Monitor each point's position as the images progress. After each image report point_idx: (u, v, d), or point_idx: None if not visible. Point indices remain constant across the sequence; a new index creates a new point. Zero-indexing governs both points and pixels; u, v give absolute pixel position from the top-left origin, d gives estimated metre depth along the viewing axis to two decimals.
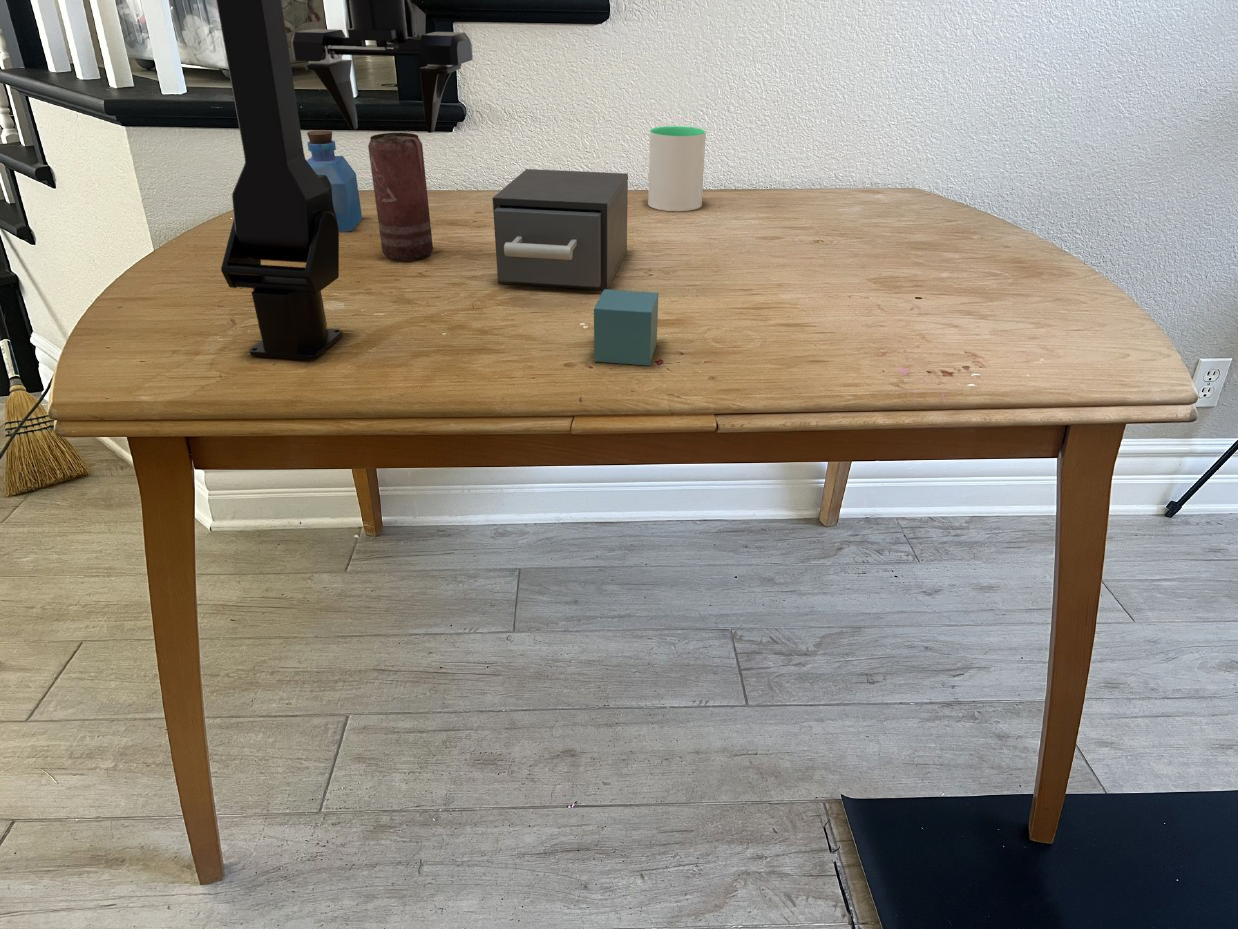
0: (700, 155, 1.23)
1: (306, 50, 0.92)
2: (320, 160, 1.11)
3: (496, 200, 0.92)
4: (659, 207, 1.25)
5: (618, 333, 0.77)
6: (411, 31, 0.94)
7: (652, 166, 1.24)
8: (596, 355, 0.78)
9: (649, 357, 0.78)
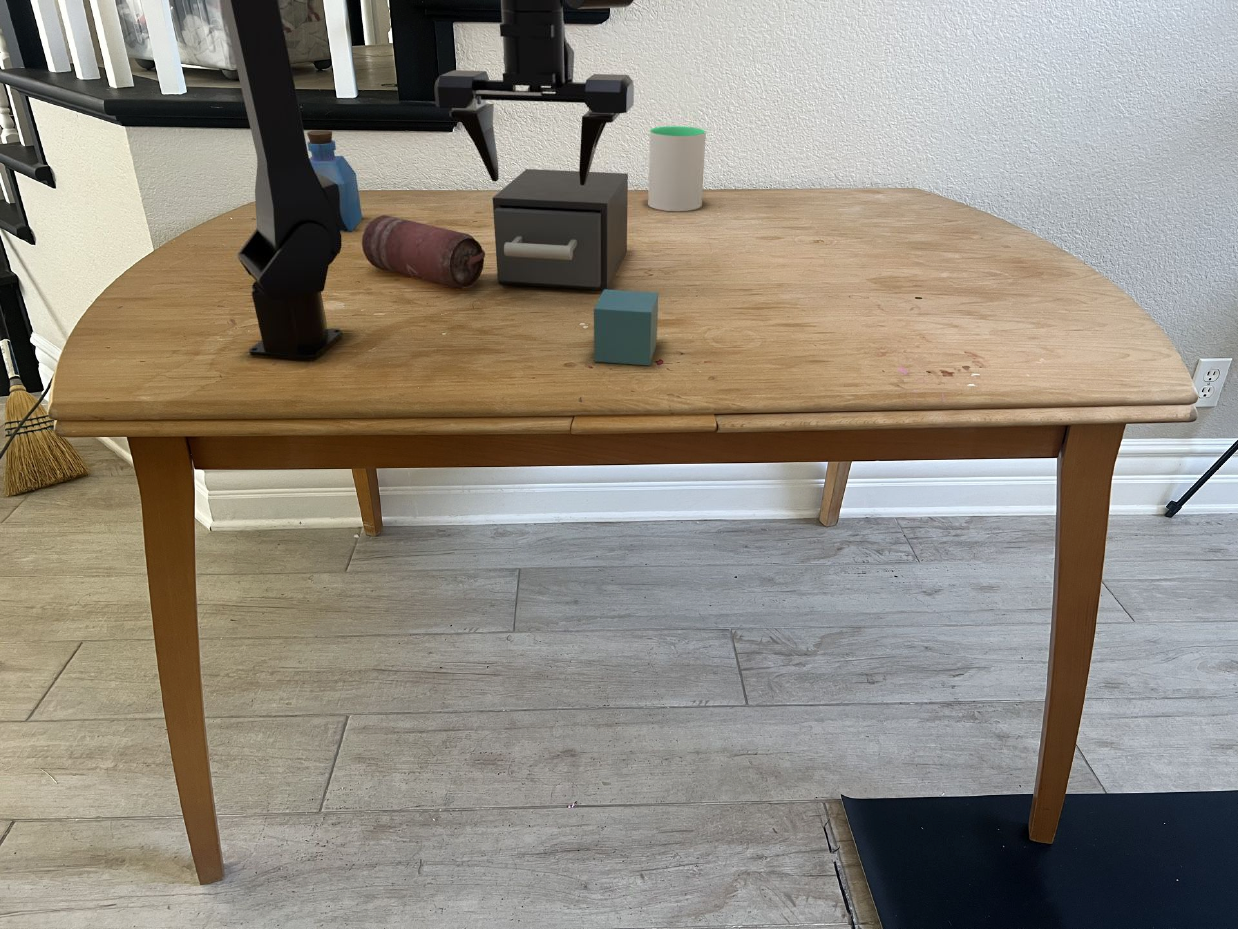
0: (700, 155, 1.23)
1: (453, 96, 0.82)
2: (320, 160, 1.11)
3: (496, 200, 0.92)
4: (659, 207, 1.25)
5: (618, 333, 0.77)
6: (567, 73, 0.84)
7: (652, 166, 1.24)
8: (596, 355, 0.78)
9: (649, 357, 0.78)
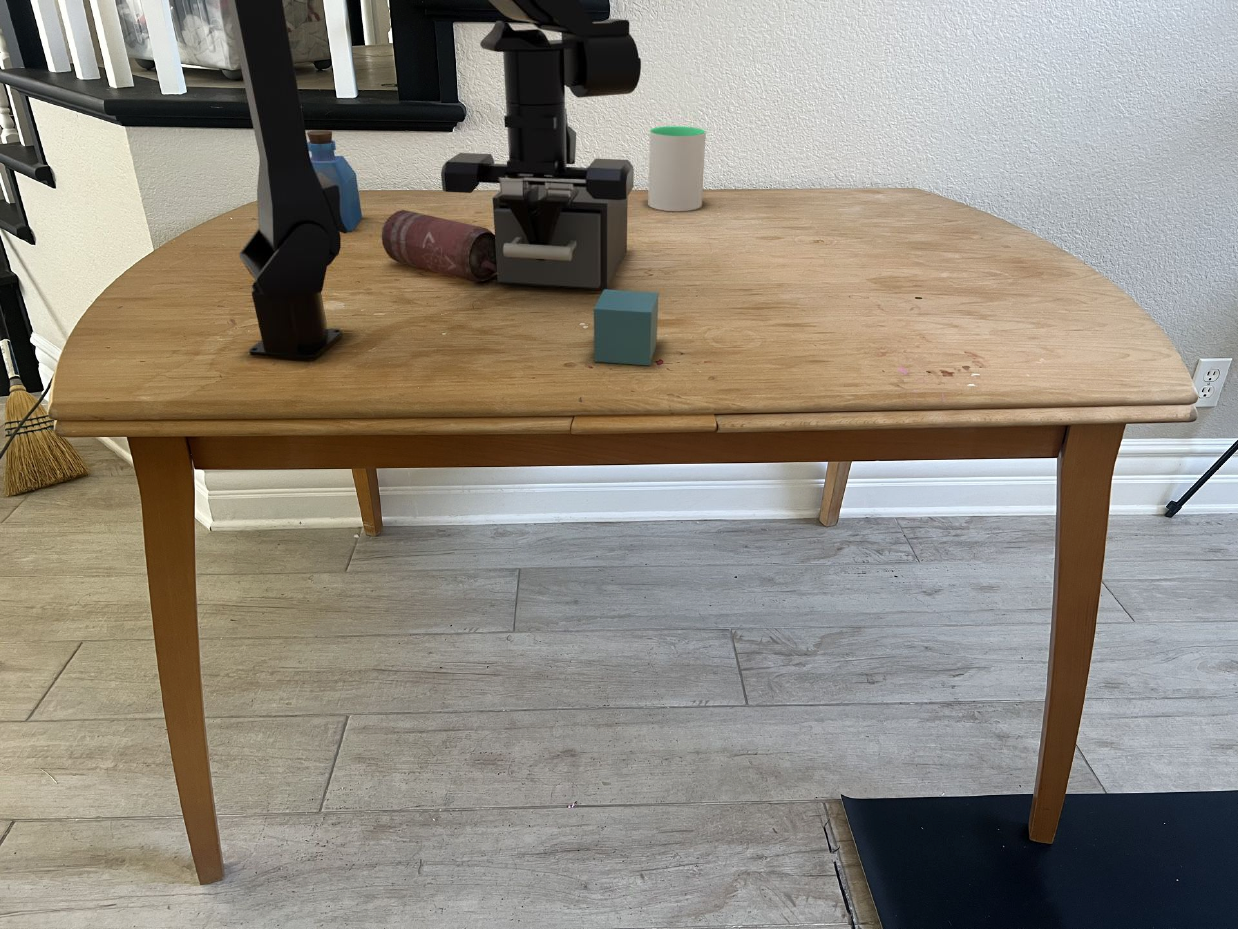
0: (700, 155, 1.23)
1: (458, 181, 0.85)
2: (320, 160, 1.11)
3: (496, 200, 0.92)
4: (659, 207, 1.25)
5: (618, 333, 0.77)
6: (569, 158, 0.87)
7: (652, 166, 1.24)
8: (596, 355, 0.78)
9: (649, 357, 0.78)
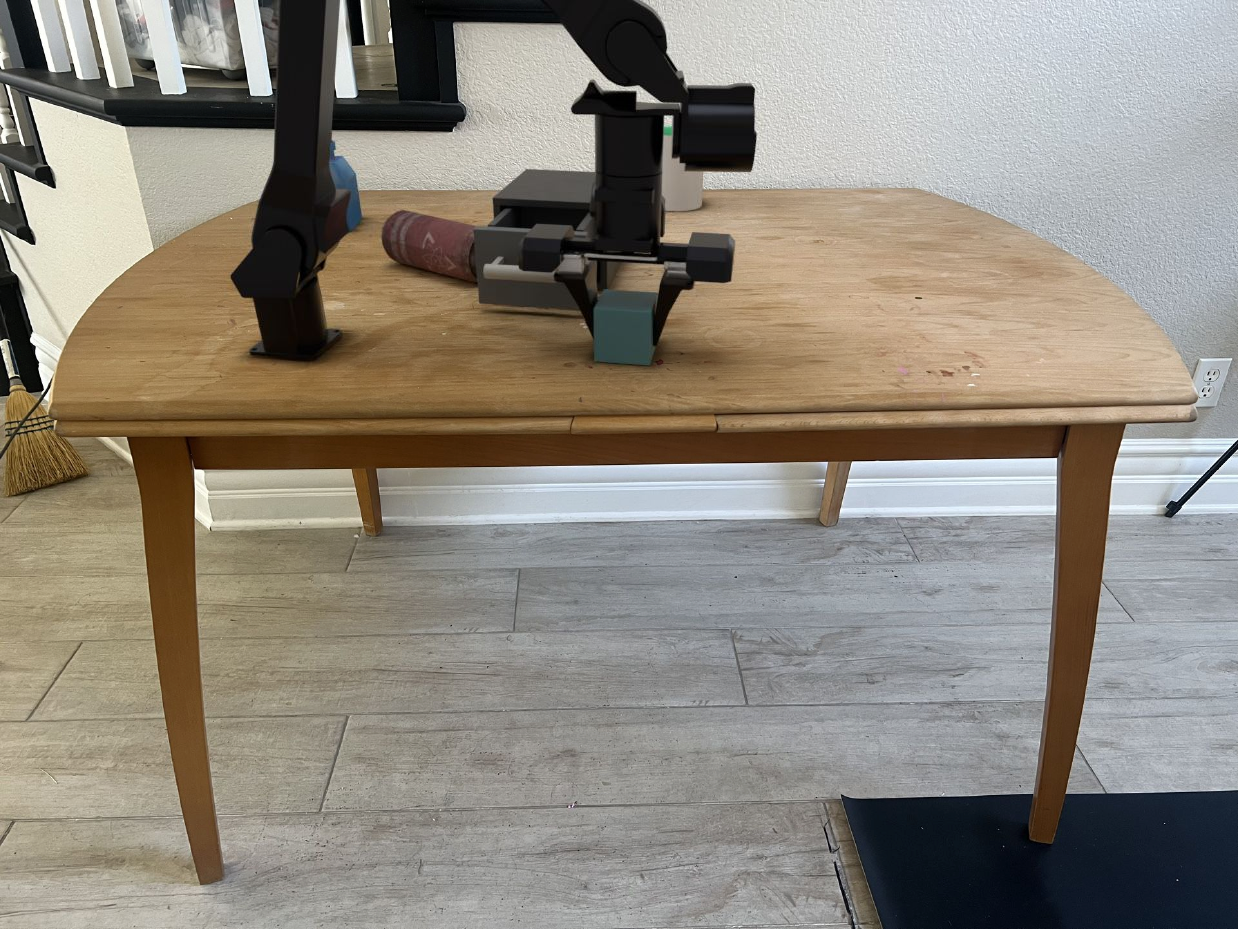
0: None
1: (538, 260, 0.74)
2: None
3: (496, 200, 0.92)
4: None
5: (618, 333, 0.77)
6: (662, 231, 0.76)
7: None
8: (596, 355, 0.78)
9: (649, 357, 0.78)
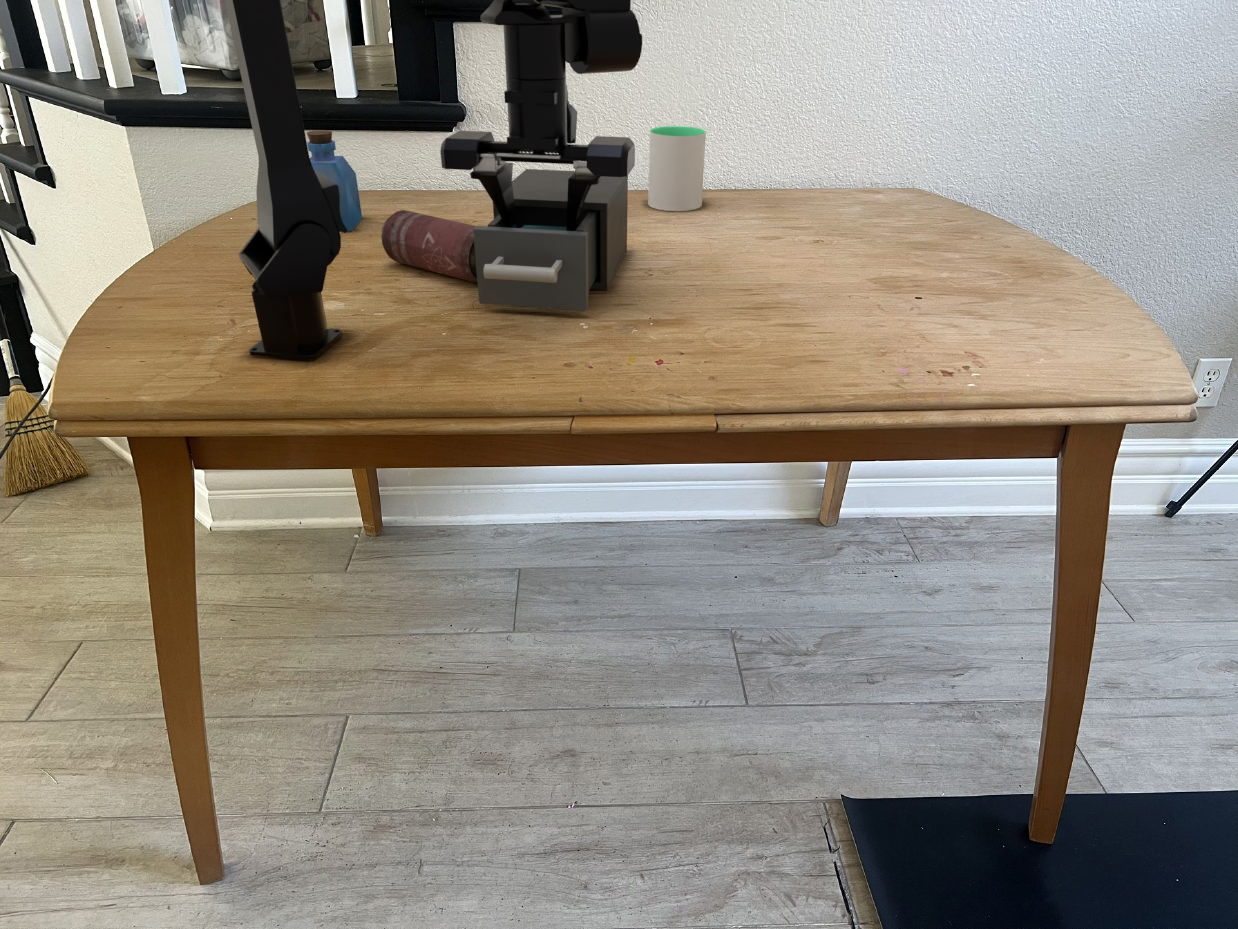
0: (700, 155, 1.23)
1: (458, 158, 0.84)
2: (320, 160, 1.11)
3: None
4: (659, 207, 1.25)
5: None
6: (569, 135, 0.86)
7: (652, 166, 1.24)
8: None
9: None
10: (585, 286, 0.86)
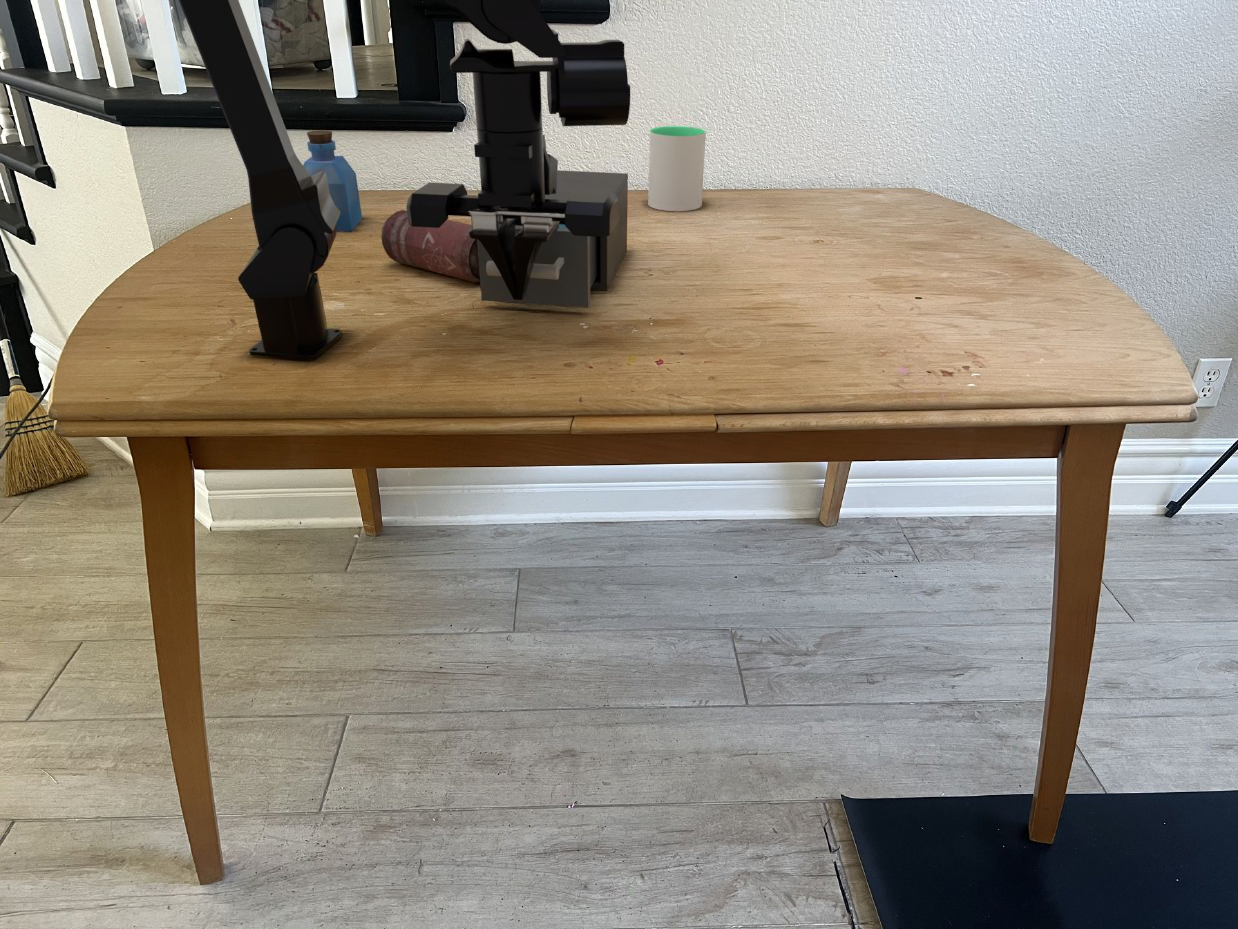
0: (700, 155, 1.23)
1: (425, 215, 0.77)
2: (320, 160, 1.11)
3: None
4: (659, 207, 1.25)
5: None
6: (548, 188, 0.79)
7: (652, 166, 1.24)
8: None
9: None
10: (587, 283, 0.87)
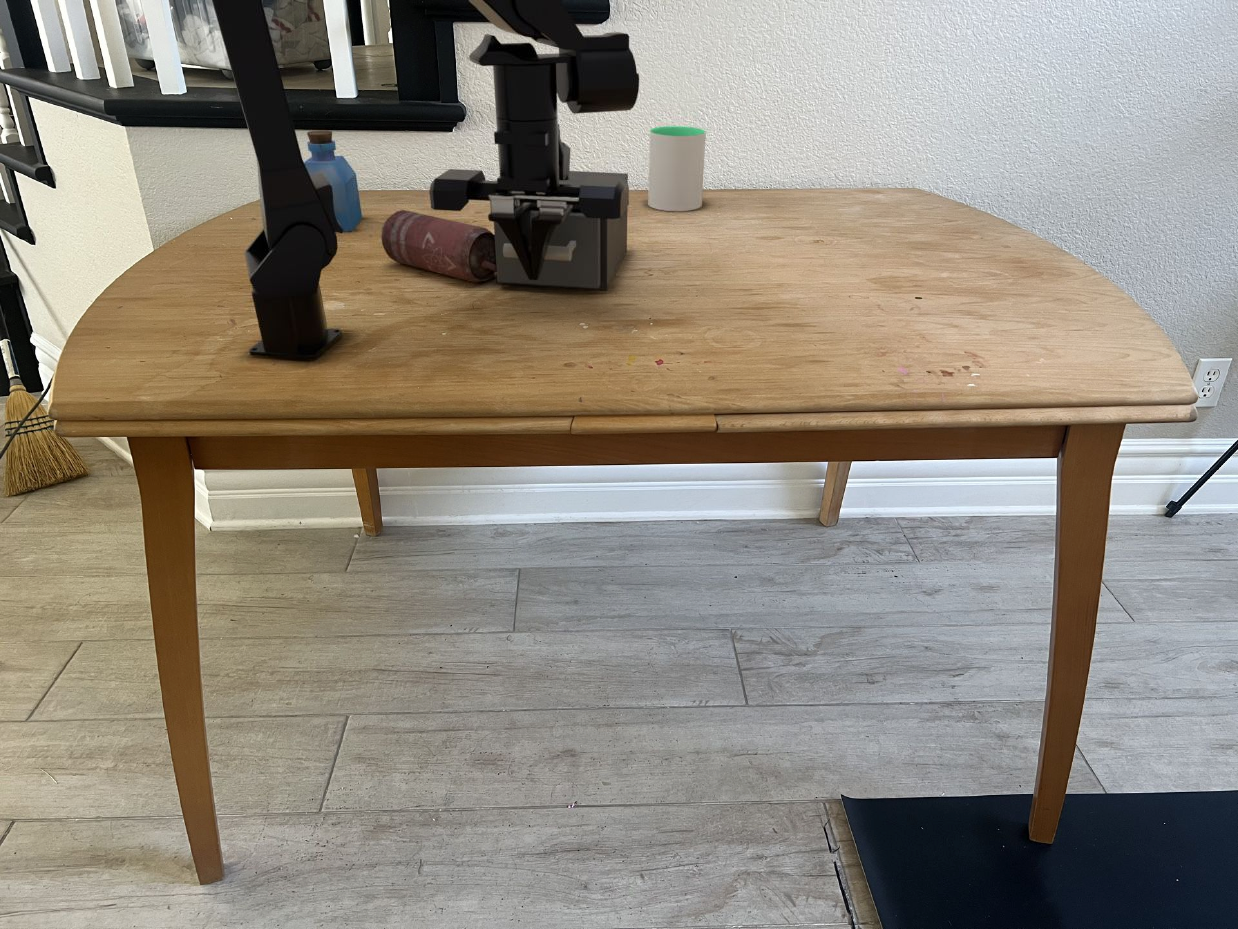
0: (700, 155, 1.23)
1: (447, 199, 0.82)
2: (320, 160, 1.11)
3: None
4: (659, 207, 1.25)
5: None
6: (562, 174, 0.84)
7: (652, 166, 1.24)
8: None
9: None
10: (597, 265, 0.92)
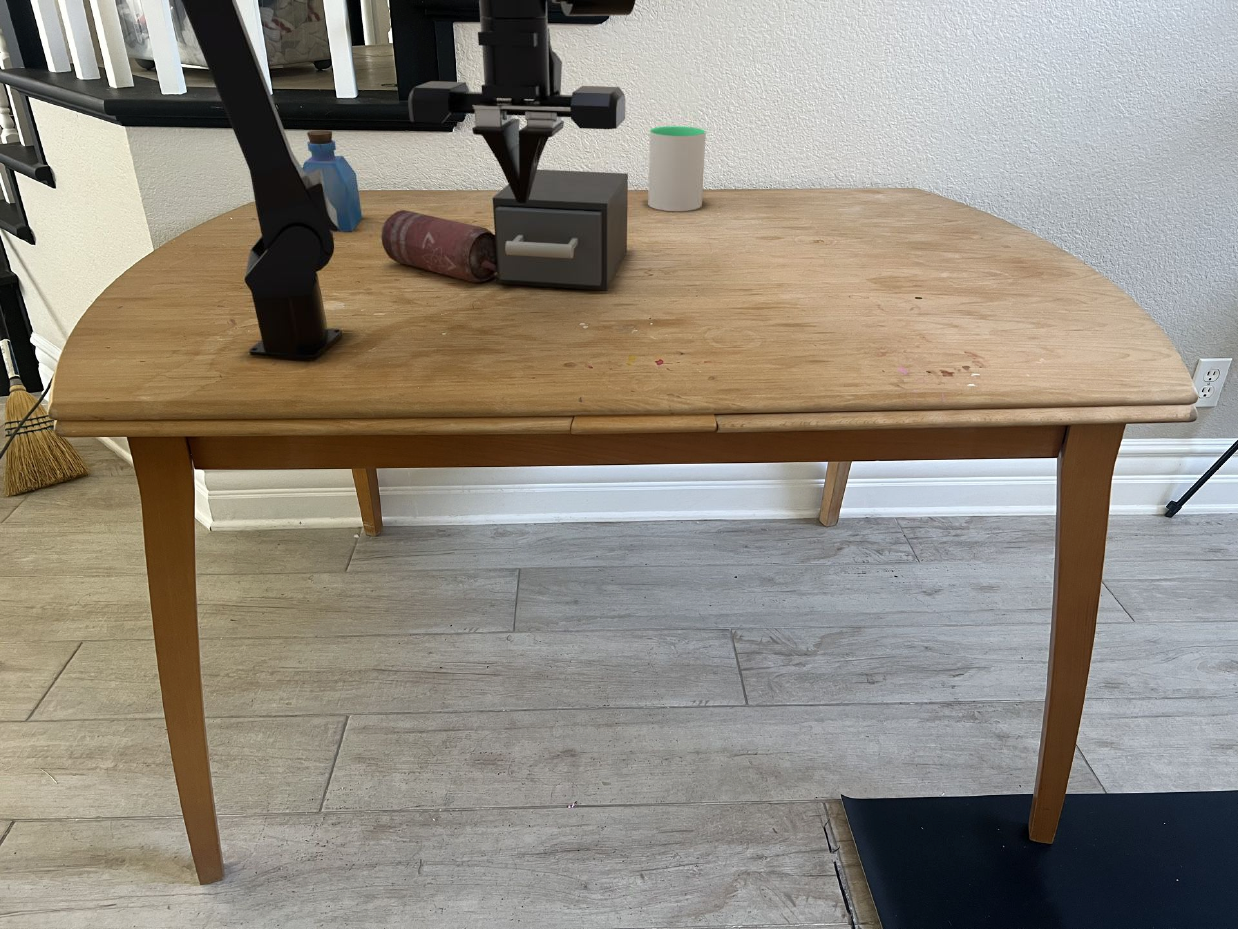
0: (700, 155, 1.23)
1: (428, 110, 0.75)
2: (320, 160, 1.11)
3: (496, 200, 0.92)
4: (659, 207, 1.25)
5: None
6: (552, 85, 0.77)
7: (652, 166, 1.24)
8: None
9: None
10: (599, 262, 0.93)
